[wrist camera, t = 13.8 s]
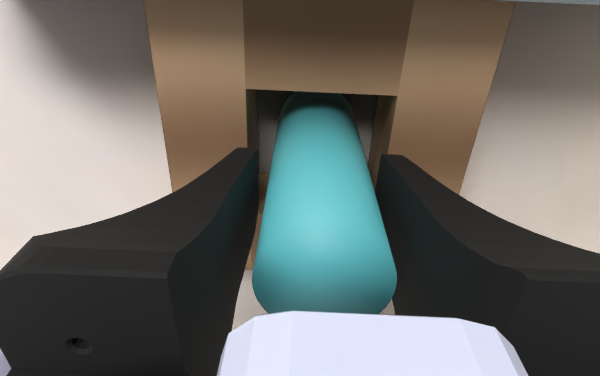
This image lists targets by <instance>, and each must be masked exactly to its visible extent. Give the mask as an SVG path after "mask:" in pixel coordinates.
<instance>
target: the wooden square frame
mask: <svg viewBox="0 0 600 376" xmlns="http://www.w3.org/2000/svg"><path fill="white" fill-rule="evenodd" d="M143 1H144V8H145V14H146V21H147V27H148V34H149V41H150V47H151V54H152V60H153V67H154V74H155V80H156V87H157V93H158V100H159V107H160V113H161V120H162V126H163V133H164V140H165V146H166V153H167V159H168V166H169V173H170V179H171V186H172V192H175V191H176V190H178V189H180V188H182V187H183V186H185V185H187V184H188V183H190V182H191V181H193V180H194V179H196V178H197V177H199V176H200V175H202V174H203V173H205V172H206V171H208V170H209V169H210V168H212V167H213V166H214V165H215V164H217V163H218V162H219V161H221V160H222V159H223V158H224V157H226V156H227V155H228V154H229V153H231V152H232V151H233V150H235V149H236V148H237V147H241V148H258V93H257V89H260V90H282V91H303V92H325V93H346V94H368V95H378V101H377V108H376V115H375V122H374V129H373V135H372V142H371V149H370V156H369V163H368V169H369V173H370V176H371V180H372V184H373V187H374V191H375V189H376V183H377V177H378V170H379V164H380V158H381V154H393V155H403V156H405V157H406V158H408V159H409V160H411V161H412V162H413V163H415V164H416V165H417V166H419V167H420V168H421V169H423V170H424V171H425V172H427V173H428V174H429V175H431V176H432V177H433V178H435V179H436V180H437V181H439V182H440V183H442V184H443V185H445V186H446V187H447V188H449V189H450V190H452V191H453V192H455V193H457V194H458V195H459V192H460V189H461V185H462V182H463V179H464V175H465V172H466V169H467V165H468V162H469V158H470V155H471V152H472V148H473V145H474V142H475V138H476V135H477V131H478V128H479V125H480V121H481V118H482V114H483V111H484V108H485V104H486V101H487V98H488V94H489V91H490V87H491V84H492V81H493V77H494V74H495V71H496V67H497V64H498V60H499V57H500V54H501V50H502V47H503V44H504V40H505V37H506V33H507V30H508V27H509V23H510V20H511V16H512V13H513V10H514V6H515V3H516V2H514V1H501V0H143ZM268 180H269V174H265V173H259V154H258V182H259V208H258V216H257V223H256V230H255V234H254V238H253V242H252V245H251V249H250V253H249V256H248V260H247V263H246V267H245V269H254V263H255V257H256V251H257V245H258V239H259V233H260V227H261V222H262V216H263V210H264V204H265V198H266V192H267V186H268Z"/></svg>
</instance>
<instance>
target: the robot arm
mask: <svg viewBox="0 0 600 376" xmlns="http://www.w3.org/2000/svg"><path fill="white" fill-rule="evenodd" d="M375 195H376V198H377V202H378V206H379V209H380V213H381V217H382V220H383V224H384V228H385V231H386V235H387V239H388V242H389V246H390V249H391V253H392V257H393V260H394V264H395V268H396V272H397V284H396V289H395V292H394V295H393V297H392V301H393V305H394V309H395V315H382V314H360V313H338V312H316V311H294V310H292V311H285V312H278V313H271V314H263V315H258V316H255V317H253V318H251V319H250V320H248V321H247V322H245V323H244V324H242V325H241V326H239V327H238V328H236V329H235V330H233V331H231V330H232V324H233V318H234V312H235V306H236V301H237V296H238V292H239V288H240V284H241V281H242V277H243V274H244V270H245V267H246V263H247V260H248V256H249V253H250V249H251V245H252V242H253V238H254V234H255V230H256V223H257V216H258V208H259V182H258V148H241V147H237V148H236V149H235V150H233V151H232V152H231V153H229V154H228V155H227V156H226V157H224V158H223V159H222V160H221V161H219V162H218V163H217V164H215V165H214V166H213V167H212V168H210V169H209V170H208V171H206V172H205V173H203V174H202V175H200V176H199V177H197V178H196V179H194V180H193V181H191V182H190V183H188V184H187V185H185V186H183V187H182V188H180V189H178V190H176V191H175V192H173V193H171V194H169V195H167V196H165V197H163V198H161V199H159V200H157V201H155V202H152V203H150V204H147V205H145V206H142V207H140V208H137V209H135V210H132V211H130V212H127V213H125V214H122V215H119V216H116V217H112V218H109V219H106V220H103V221H99V222H96V223H92V224H89V225H85V226H81V227H76V228H72V229H67V230H62V231H58V232H53V233H49V234H44V235H38V236H33V237H32V238H31V239H30V240H29V241H28V242H27V243H26V244H25V245H24V246H23V247H22V248H21V250H20V251H19V252H18V253H17V254H16V255H15V256H14V257H13V258H12V259H11V260H10V261H9V262H8V263H7V264H6V265H5V266H4V267H3V268H2V269H1V270H0V376H600V254H599V253H595V252H591V251H587V250H584V249H581V248H577V247H574V246H571V245H568V244H565V243H562V242H559V241H556V240H553V239H550V238H548V237H545V236H542V235H539V234H537V233H534V232H532V231H529V230H527V229H524V228H522V227H520V226H517V225H515V224H513V223H510V222H508V221H506V220H504V219H502V218H499V217H497V216H495V215H493V214H492V213H490V212H488V211H486V210H484V209H482V208H480V207H478V206H476V205H475V204H473V203H471V202H469V201H468V200H466V199H464V198H463V197H461V196H460V195H458V194H457V193H455V192H453V191H452V190H450V189H449V188H447V187H446V186H445V185H443V184H442V183H440V182H439V181H437V180H436V179H435V178H433V177H432V176H431V175H429V174H428V173H427V172H425V171H424V170H423V169H421V168H420V167H419V166H417V165H416V164H415V163H413V162H412V161H411V160H409V159H408V158H406V157H405V156H403V155H393V154H381V158H380V164H379V170H378V177H377V183H376V189H375Z"/></svg>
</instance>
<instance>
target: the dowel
mask: <svg viewBox="0 0 600 376" xmlns="http://www.w3.org/2000/svg"><path fill="white" fill-rule="evenodd" d="M252 284H253V290H254V293H255V296H256V298H257V300H258V302H259V303H260V304H261V306H262V307H263V308H264V309H265V310H266V311H267V312H268V313H269V314H271V313H278V312H285V311H292V310H294V311H316V312H338V313H360V314H379V313H380V312H381V311H382V310H383V309H384V308H385V307H386V306H387V305H388V303H389V302H390V300H391V299H392V297H393V295H394V292H395V289H396V284H397V272H396V268H395V264H394V260H393V257H392V253H391V249H390V246H389V242H388V239H387V235H386V231H385V228H384V224H383V220H382V217H381V213H380V209H379V206H378V202H377V198H376V195H375V191H374V187H373V184H372V180H371V176H370V173H369V169H368V165H367V162H366V158H365V154H364V151H363V147H362V144H361V140H360V136H359V133H358V129H357V125H356V122H355V118H354V114H353V111H352V108H351V106H350V104H349V102H348V101H347V100H346V98H345V97H344V96H343V95H341V94H340V93H325V92H303V91H297V92H295V93H294V94H292V95H291V96H290V97H289V98H288V99H287V100H286V102H285V103H284V105H283V107H282V109H281V112H280V116H279V121H278V127H277V133H276V139H275V145H274V151H273V157H272V163H271V168H270V174H269V180H268V186H267V192H266V198H265V204H264V210H263V216H262V222H261V227H260V233H259V239H258V245H257V251H256V257H255V263H254V269H253V275H252Z"/></svg>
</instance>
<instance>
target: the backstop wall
mask: <svg viewBox="0 0 600 376" xmlns="http://www.w3.org/2000/svg"><path fill="white" fill-rule="evenodd" d="M501 1H522V2H543V3H565V4H586V5H600V0H501Z"/></svg>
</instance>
